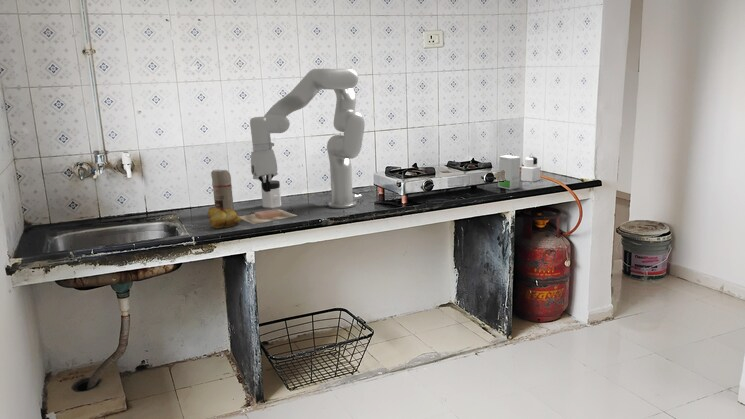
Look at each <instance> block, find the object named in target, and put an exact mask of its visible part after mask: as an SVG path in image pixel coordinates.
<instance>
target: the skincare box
mask: <svg viewBox="0 0 745 419" xmlns="http://www.w3.org/2000/svg"><path fill="white" fill-rule="evenodd" d="M498 164H499V165H498V167H499V168H498V171H499V170H504V171H505V174H506V181H504V182H499V181H498V182H497V186H498V187H497V188H501V189H506V190H515V189H519V188H520V175H521V172H520V171H521V156H517V155H511V154H505V155H500V156H499V162H498Z"/></svg>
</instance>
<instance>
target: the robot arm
mask: <svg viewBox="0 0 745 419" xmlns="http://www.w3.org/2000/svg"><path fill="white" fill-rule="evenodd" d="M358 82H359V75H358V73H357V72H356V71H355V70H354V69H352V68H314V69H311V70H309V72H307V73H306V74H305V76H303V78H302V79H301V80H300V81H299V82H298V83H297V85H295V87H294V88H293V89H291V91H290V92H289V93H287V94H286V95H285V96H283V97H282V98H280V99H279V100H278V101H277V102H276V103H274V104H273V105H272V106H271V107H270V108H269V110H267V112H266V113H265V114H264V115H263V116H255V117H251V118H250V120H249V125H250V126H249V128H250V134H251V135H250V136H251V142H252V144H251V145H252V150H253V151H251V155H250V170H251V175H252V179H254V180H258V181H260V182H262V186H263V190H264V191H265V192H268V191H269V192H270V191H271V190H270V189H271V184H270V182H271V180H272V179H273V178H274V177H277V176H278V174H279V173H278V163H277V162H278V161H277V158H276V155H275V154H276V153H275V151H274V149H273V147H274V146H275V143H274V142H272V140H271V134H282V133H285V132H287V131H288V130H289V128H290V120H289V118H288V116H289V115H290V114H292V113H294V112H296V111H299V110H301V109H303V108H305V107H307V106H308V105H309V104H310V102H312V100H313V99H314V98H315V97H316V95H317V94H318V93H319V92H320V91H321V90H331V91H332V90H333V91H334V93H335V96H336V104H335V109H334V116H333V127H334V129H335V130H336V131H338V132H341V133H343V134H336V135H335V134H334V135H332V136H331V137H330V138H329V139H328V140H327V142H326V144H327V145H326V150H327V156H328V160H329V171H330V172H329V173H330V174H329V175H330V194H331V201H329V202H328V207H329V208H333V209H345V208H346V209H348V208H353V207H355V206H357V201H356V200H359V199H362V198H363V196H362V194H355V193H353V177H352V176H353V174H352V172H353V171H352V162H351V159H355V158H357V156H359V154H360V152H361V149H362V146H363V139H364V131H365V125H366V124H365V119H364V116H363V115H362V114H361V113H360V112H359V111H357V110H356V103H357V99H356V98H357V97H356V92H355V90H354V88H355V87H356V86H357V84H358Z"/></svg>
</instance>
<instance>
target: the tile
mask: <svg viewBox="0 0 745 419" xmlns="http://www.w3.org/2000/svg"><path fill="white" fill-rule="evenodd" d="M254 214H255V217H258V218H260V219H266V218H272V217H277V216H282V212H281V211H278V209H275V208H271V209H267V210H262V211H256V212H254Z"/></svg>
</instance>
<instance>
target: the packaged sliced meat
mask: <svg viewBox="0 0 745 419" xmlns="http://www.w3.org/2000/svg"><path fill="white" fill-rule="evenodd" d="M277 210H278V211H281V212H282V216H277V217H272V218H266V219H260V218H258V217H255V213H251V214H246V215H241V216H240V215H239V216H240V217H241V220H243V221H245V222H248V223H250V224H251V225H257V224H261V223H267V222H273V221H276V220H278V221H279V220H282V219H287V218H293V217H296V216H298V215H297V214H294V213H291V212H288V211H286V210H283V209H280V208H278V209H277Z"/></svg>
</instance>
